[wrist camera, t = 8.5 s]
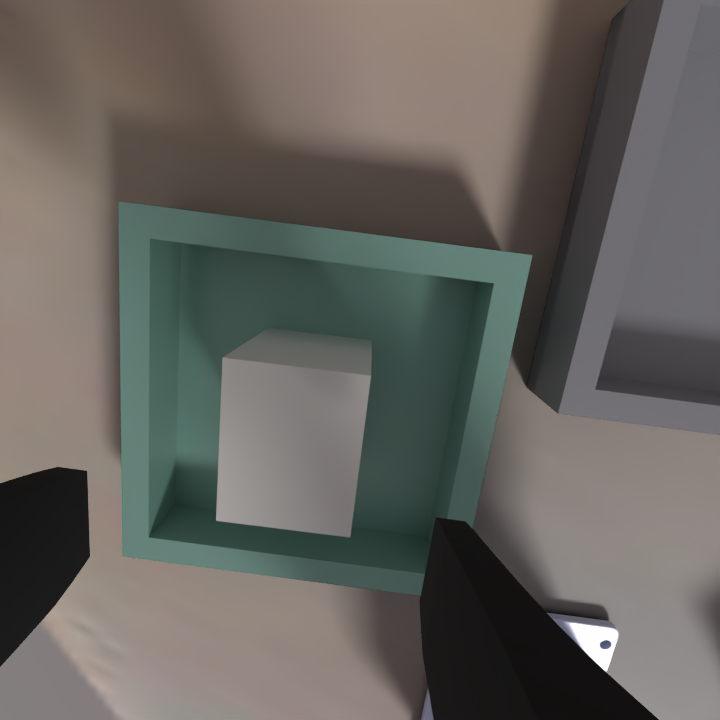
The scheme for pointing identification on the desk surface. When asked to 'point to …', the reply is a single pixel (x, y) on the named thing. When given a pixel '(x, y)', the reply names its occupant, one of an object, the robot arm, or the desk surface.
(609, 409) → the bin
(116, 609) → the desk surface
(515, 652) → the robot arm
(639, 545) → the desk surface
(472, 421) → the bin
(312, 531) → the light gray block
